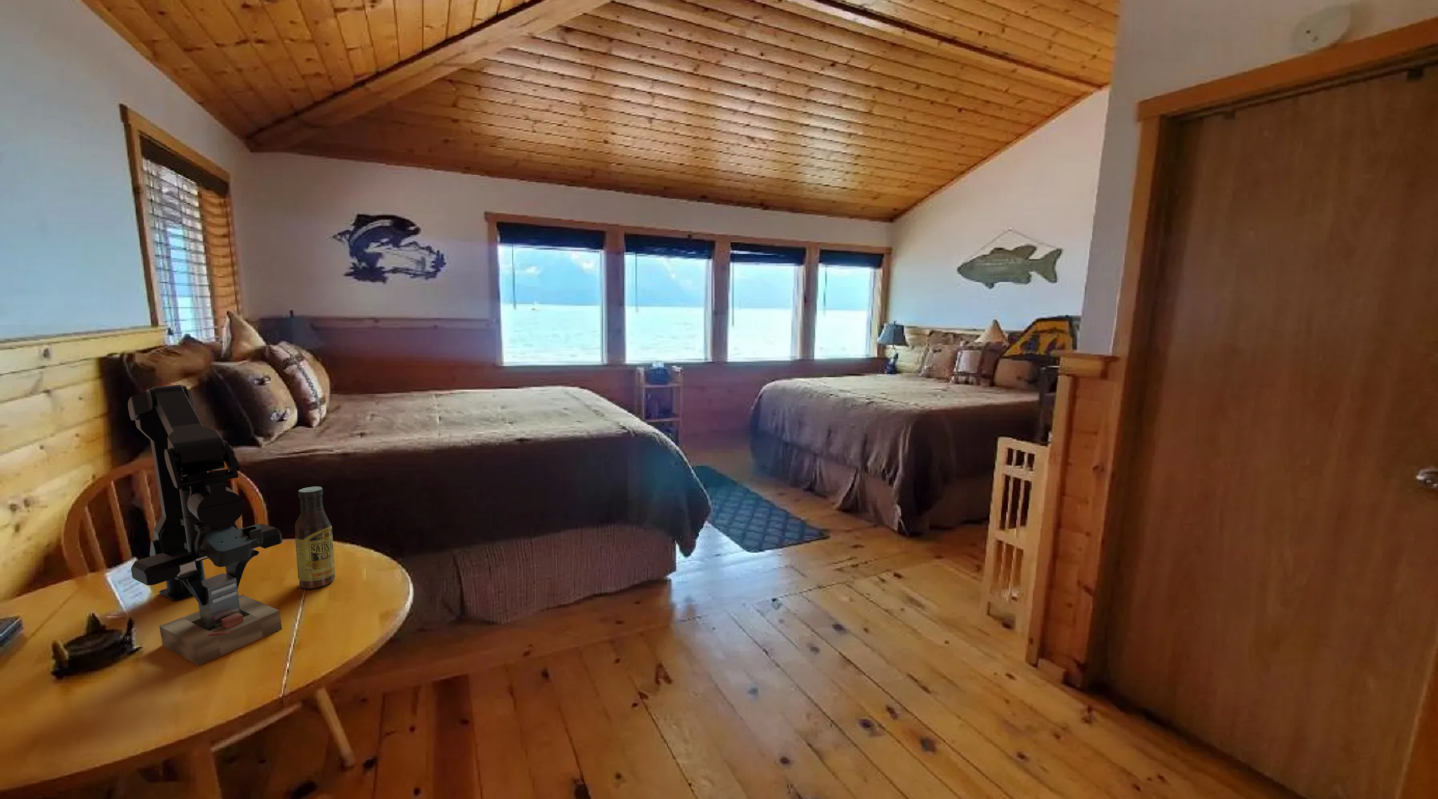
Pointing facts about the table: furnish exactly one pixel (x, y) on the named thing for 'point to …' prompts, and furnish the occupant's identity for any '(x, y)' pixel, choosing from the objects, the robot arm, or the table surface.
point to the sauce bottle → (313, 541)
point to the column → (219, 600)
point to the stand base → (220, 631)
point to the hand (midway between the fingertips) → (218, 599)
